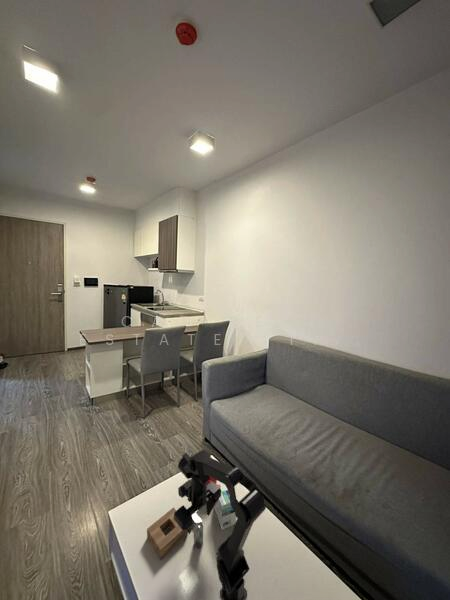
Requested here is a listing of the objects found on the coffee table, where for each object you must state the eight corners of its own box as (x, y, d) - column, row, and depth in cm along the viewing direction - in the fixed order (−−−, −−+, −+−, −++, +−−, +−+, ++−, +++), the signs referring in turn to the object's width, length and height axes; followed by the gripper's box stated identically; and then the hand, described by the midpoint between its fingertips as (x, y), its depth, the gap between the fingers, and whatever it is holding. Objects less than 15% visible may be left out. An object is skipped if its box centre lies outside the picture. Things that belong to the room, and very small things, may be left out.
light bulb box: (236, 524, 96) (237, 500, 95) (221, 530, 94) (221, 506, 93) (227, 501, 106) (227, 479, 105) (213, 506, 103) (213, 484, 102)
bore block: (187, 534, 92) (187, 524, 92) (160, 559, 83) (160, 550, 83) (173, 515, 99) (173, 507, 99) (147, 537, 90) (147, 528, 90)
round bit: (204, 543, 89) (204, 526, 88) (197, 550, 87) (198, 533, 86) (199, 536, 91) (199, 520, 91) (192, 543, 89) (192, 526, 88)
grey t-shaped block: (205, 522, 97) (205, 517, 97) (193, 533, 92) (194, 528, 92) (194, 510, 102) (194, 505, 101) (183, 520, 97) (183, 515, 97)
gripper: (204, 460, 99) (203, 493, 100) (165, 487, 86) (165, 526, 87) (222, 475, 91) (222, 512, 93) (183, 508, 78) (183, 550, 79)
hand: (198, 523), depth 88 cm, fingers open, 9 cm apart
